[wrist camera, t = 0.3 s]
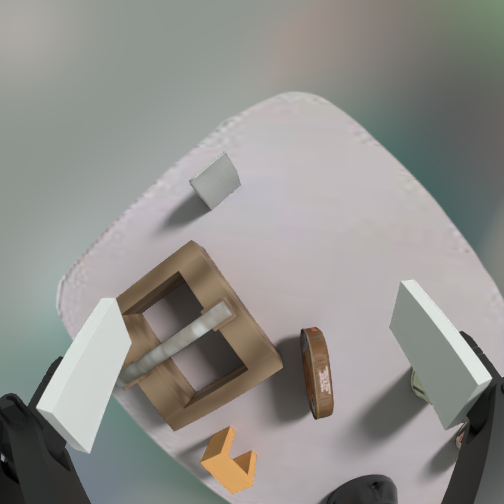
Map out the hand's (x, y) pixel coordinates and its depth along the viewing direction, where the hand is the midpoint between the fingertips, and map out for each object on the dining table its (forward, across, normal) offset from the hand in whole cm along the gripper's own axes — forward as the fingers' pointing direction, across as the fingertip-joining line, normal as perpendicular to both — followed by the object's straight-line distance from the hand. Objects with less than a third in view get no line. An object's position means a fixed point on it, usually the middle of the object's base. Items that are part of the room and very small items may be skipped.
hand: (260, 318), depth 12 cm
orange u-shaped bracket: (+14, +5, +42) cm, 44 cm away
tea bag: (+40, +5, +3) cm, 40 cm away
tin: (+22, -9, +29) cm, 37 cm away
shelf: (+26, +11, +24) cm, 37 cm away
